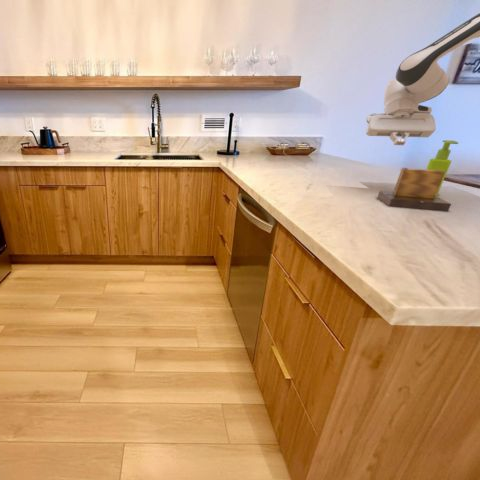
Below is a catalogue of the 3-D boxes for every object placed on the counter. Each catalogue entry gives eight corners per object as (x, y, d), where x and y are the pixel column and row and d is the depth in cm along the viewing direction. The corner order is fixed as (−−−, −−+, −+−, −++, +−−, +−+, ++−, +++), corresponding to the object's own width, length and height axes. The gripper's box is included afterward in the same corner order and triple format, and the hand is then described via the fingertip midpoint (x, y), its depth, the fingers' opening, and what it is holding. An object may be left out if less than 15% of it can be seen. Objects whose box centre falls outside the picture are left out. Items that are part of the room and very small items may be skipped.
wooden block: (431, 197, 97) (442, 169, 93) (434, 198, 95) (445, 170, 91) (392, 194, 101) (401, 167, 97) (394, 195, 99) (404, 168, 95)
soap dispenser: (424, 196, 109) (446, 141, 100) (414, 191, 115) (434, 139, 106) (442, 197, 107) (466, 141, 99) (431, 192, 113) (452, 139, 105)
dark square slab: (427, 201, 103) (431, 192, 102) (450, 214, 90) (454, 204, 89) (375, 196, 108) (378, 188, 107) (390, 208, 95) (393, 199, 94)
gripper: (370, 107, 108) (369, 137, 104) (437, 107, 102) (439, 139, 97) (363, 119, 113) (362, 148, 109) (426, 120, 107) (428, 151, 103)
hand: (399, 144), depth 103 cm, fingers closed
